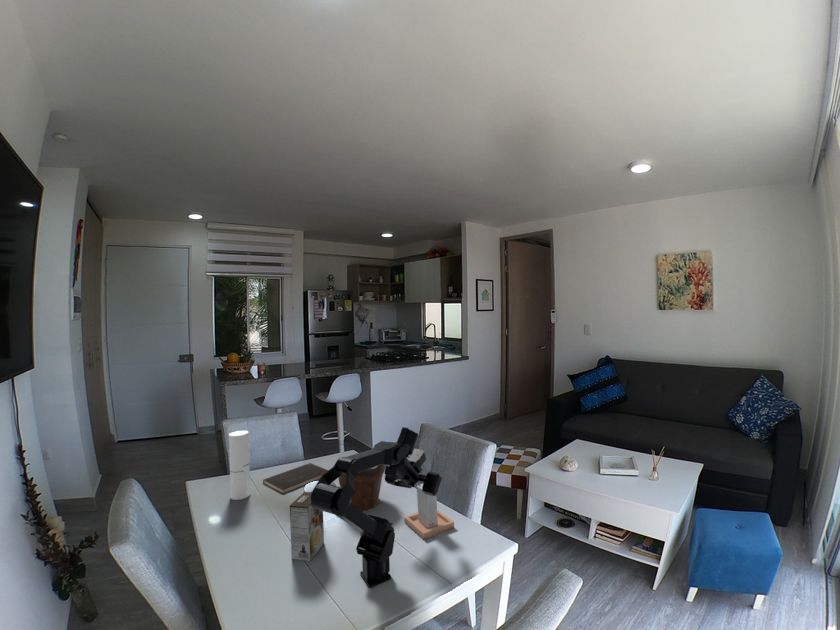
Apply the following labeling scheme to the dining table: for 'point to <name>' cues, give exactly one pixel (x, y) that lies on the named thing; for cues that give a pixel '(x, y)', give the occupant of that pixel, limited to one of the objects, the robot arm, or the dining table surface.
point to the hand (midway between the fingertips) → (422, 489)
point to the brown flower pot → (365, 487)
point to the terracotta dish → (425, 532)
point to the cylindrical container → (239, 464)
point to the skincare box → (427, 508)
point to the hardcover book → (295, 477)
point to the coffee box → (305, 528)
